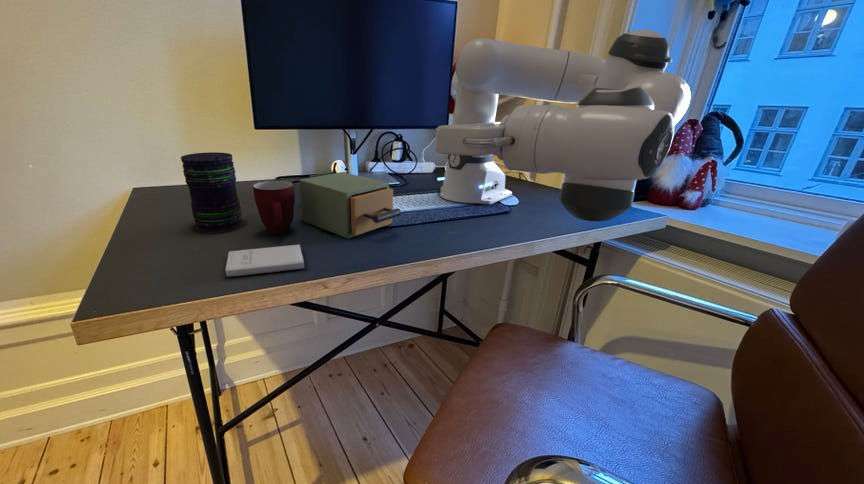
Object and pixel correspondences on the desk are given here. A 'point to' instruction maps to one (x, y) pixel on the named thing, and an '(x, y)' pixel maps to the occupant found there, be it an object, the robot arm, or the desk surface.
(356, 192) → the cabinet
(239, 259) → the hard drive
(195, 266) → the desk surface
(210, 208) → the storage jar
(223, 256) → the desk surface
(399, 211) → the drawer
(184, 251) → the desk surface
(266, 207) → the mug
